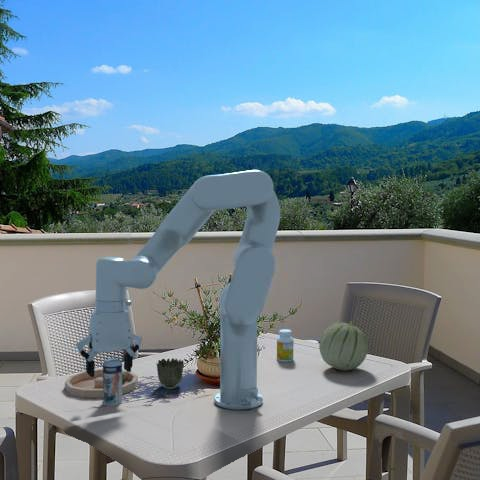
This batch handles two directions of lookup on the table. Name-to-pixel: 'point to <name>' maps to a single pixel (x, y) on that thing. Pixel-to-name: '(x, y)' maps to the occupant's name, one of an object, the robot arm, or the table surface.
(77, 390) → the saucer
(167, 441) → the table surface
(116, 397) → the beer can
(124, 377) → the bead
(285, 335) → the supplement bottle
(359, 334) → the cantaloupe
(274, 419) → the table surface
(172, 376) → the cup
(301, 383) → the table surface
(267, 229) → the robot arm
